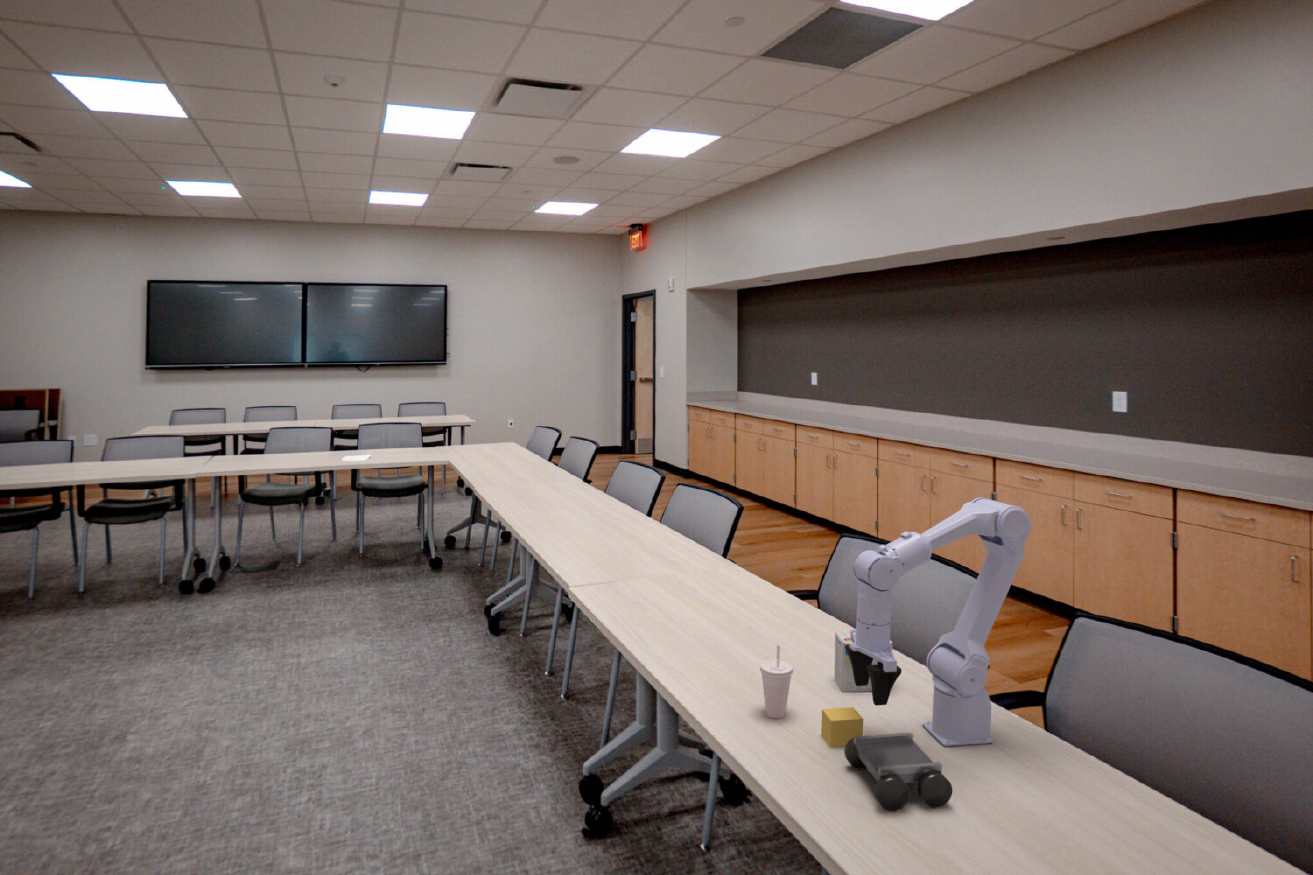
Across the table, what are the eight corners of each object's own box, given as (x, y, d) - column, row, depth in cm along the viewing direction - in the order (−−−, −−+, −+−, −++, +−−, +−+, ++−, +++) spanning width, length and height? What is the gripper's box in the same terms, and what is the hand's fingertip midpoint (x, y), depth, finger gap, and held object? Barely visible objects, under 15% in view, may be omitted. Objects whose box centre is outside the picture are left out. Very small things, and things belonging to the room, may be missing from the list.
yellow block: (852, 732, 135) (853, 707, 134) (862, 745, 130) (863, 718, 130) (821, 734, 134) (822, 708, 133) (830, 747, 129) (831, 720, 129)
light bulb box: (881, 678, 158) (883, 630, 157) (892, 692, 151) (894, 642, 150) (832, 678, 158) (834, 630, 157) (841, 692, 151) (843, 642, 150)
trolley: (910, 760, 125) (911, 727, 124) (951, 806, 112) (953, 769, 111) (843, 765, 123) (844, 732, 123) (877, 812, 110) (879, 775, 110)
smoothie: (767, 723, 138) (768, 652, 136) (753, 708, 144) (755, 640, 142) (798, 719, 139) (799, 649, 138) (783, 704, 146) (785, 636, 144)
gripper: (835, 607, 134) (833, 678, 135) (869, 636, 120) (866, 715, 121) (871, 605, 135) (869, 676, 137) (910, 634, 121) (906, 712, 122)
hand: (870, 694), depth 129 cm, fingers open, 7 cm apart
